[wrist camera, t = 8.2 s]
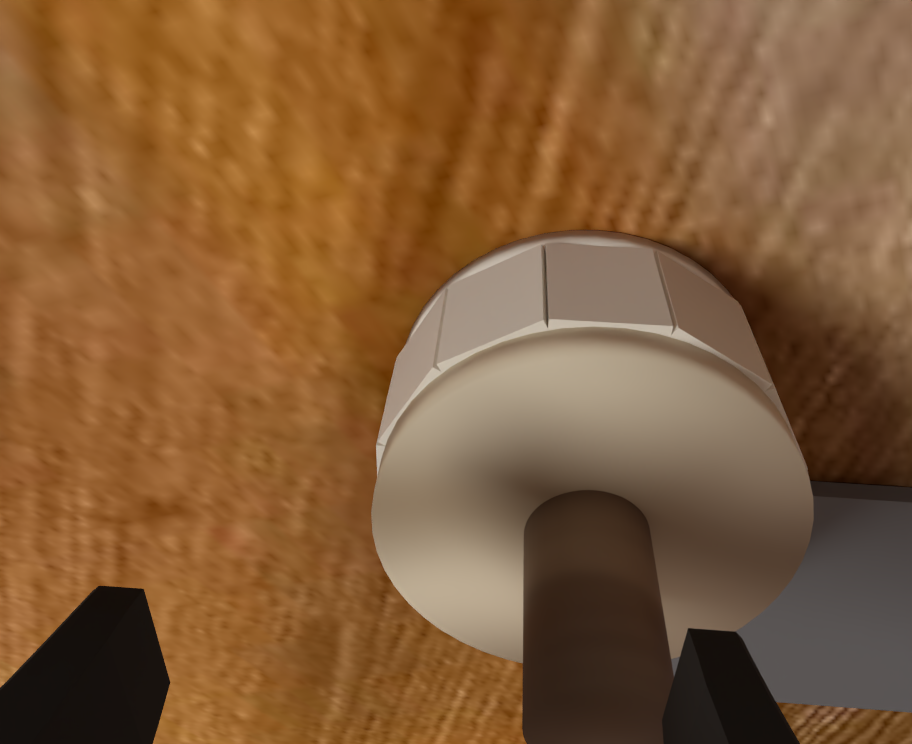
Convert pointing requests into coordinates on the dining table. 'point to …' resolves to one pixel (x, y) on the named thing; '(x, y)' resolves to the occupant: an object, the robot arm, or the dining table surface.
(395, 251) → the dining table surface
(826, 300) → the dining table surface
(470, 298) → the bowl
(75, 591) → the dining table surface
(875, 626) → the mat
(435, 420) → the lid
